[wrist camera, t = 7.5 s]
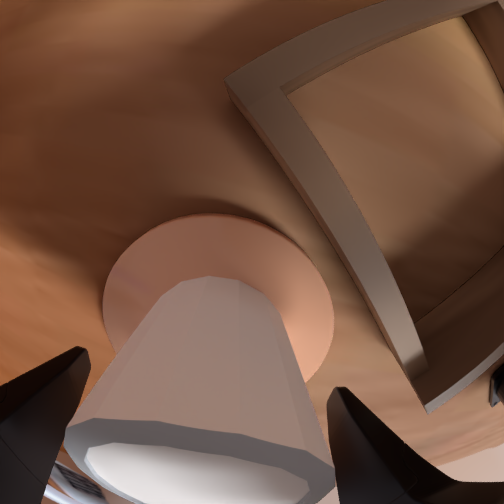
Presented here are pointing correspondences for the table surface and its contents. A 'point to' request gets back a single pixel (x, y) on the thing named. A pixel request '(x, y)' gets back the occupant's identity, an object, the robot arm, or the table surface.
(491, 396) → the robot arm
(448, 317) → the brown wooden square tray
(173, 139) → the table surface
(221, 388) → the white cup
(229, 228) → the terracotta saucer
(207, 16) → the table surface
